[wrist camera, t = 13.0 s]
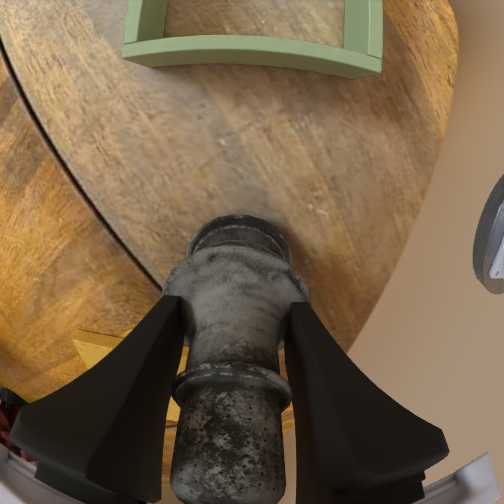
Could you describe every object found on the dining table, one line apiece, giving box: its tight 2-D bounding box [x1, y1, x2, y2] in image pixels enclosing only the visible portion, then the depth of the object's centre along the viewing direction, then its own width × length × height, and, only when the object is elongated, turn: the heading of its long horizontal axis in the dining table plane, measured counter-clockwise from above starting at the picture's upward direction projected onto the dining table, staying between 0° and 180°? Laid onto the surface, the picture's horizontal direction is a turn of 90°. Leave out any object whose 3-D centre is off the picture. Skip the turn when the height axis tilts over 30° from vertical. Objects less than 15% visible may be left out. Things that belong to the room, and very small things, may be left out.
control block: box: [72, 330, 189, 421], centre depth 19 cm, size 14×12×3 cm
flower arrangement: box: [0, 388, 39, 467], centre depth 25 cm, size 31×20×15 cm, turn 87°
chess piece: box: [162, 215, 311, 504], centre depth 8 cm, size 6×6×12 cm
